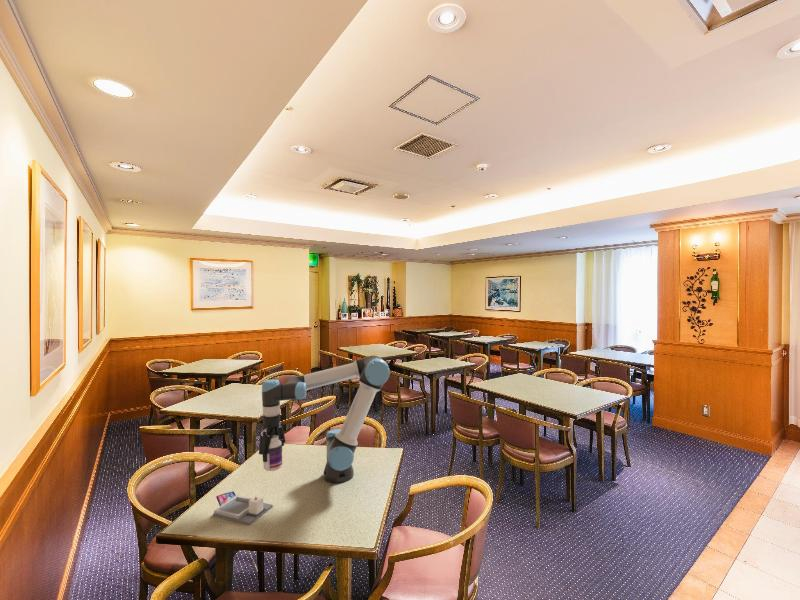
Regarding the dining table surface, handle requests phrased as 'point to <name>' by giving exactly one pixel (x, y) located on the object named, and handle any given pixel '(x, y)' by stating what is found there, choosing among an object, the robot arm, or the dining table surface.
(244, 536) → the dining table surface
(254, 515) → the dock plate
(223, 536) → the dining table surface
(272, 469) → the pill bottle
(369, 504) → the dining table surface
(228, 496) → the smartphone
